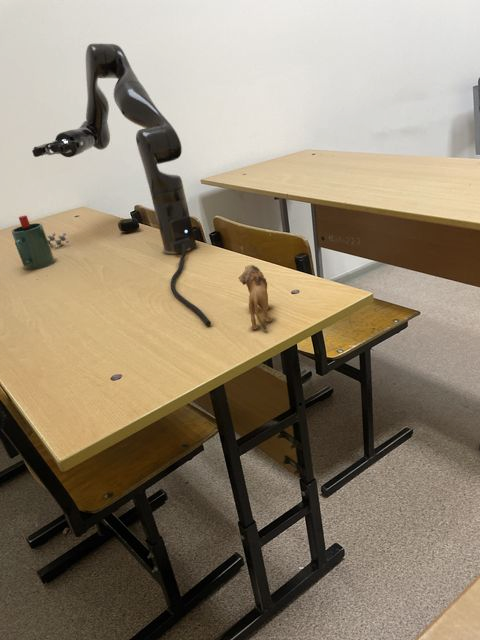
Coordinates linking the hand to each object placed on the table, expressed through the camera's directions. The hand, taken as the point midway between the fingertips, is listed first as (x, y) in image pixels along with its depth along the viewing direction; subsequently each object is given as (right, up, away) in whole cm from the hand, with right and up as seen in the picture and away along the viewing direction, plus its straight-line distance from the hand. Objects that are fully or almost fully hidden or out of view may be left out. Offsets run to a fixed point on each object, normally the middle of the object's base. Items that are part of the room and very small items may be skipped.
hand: (47, 151), depth 158 cm
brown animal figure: (+64, -53, -52) cm, 98 cm away
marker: (-4, -32, +4) cm, 33 cm away
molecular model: (-6, -25, +20) cm, 32 cm away
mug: (-4, -34, +2) cm, 34 cm away
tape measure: (+19, -16, +22) cm, 34 cm away
